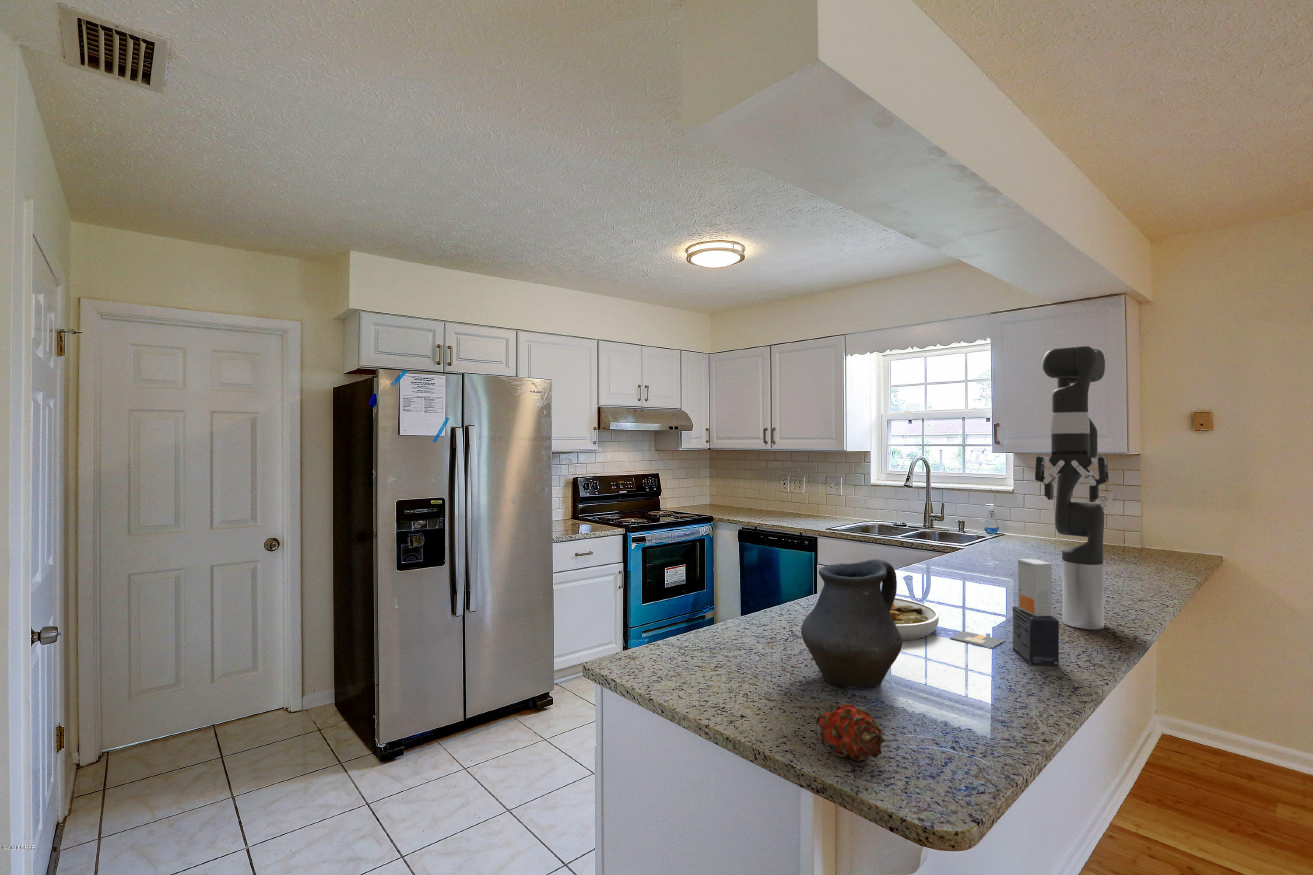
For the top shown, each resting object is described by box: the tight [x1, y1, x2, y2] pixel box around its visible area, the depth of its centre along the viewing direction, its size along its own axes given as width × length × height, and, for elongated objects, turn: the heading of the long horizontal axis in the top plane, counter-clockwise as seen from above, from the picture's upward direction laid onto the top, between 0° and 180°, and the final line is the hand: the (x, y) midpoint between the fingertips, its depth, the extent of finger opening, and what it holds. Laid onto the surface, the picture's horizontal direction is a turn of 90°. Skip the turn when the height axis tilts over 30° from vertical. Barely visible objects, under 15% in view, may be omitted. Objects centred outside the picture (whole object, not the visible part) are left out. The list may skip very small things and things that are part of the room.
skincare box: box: [1017, 558, 1053, 617], centre depth 142 cm, size 6×4×12 cm
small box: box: [1012, 606, 1060, 667], centre depth 142 cm, size 11×6×10 cm, turn 169°
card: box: [950, 631, 1006, 649], centre depth 155 cm, size 8×10×1 cm
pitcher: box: [800, 558, 904, 690], centre depth 130 cm, size 21×22×25 cm
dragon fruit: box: [815, 702, 886, 762], centre depth 99 cm, size 8×8×12 cm
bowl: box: [890, 597, 940, 641], centre depth 167 cm, size 30×30×8 cm
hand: (1070, 500), depth 144 cm, fingers open, 8 cm apart
